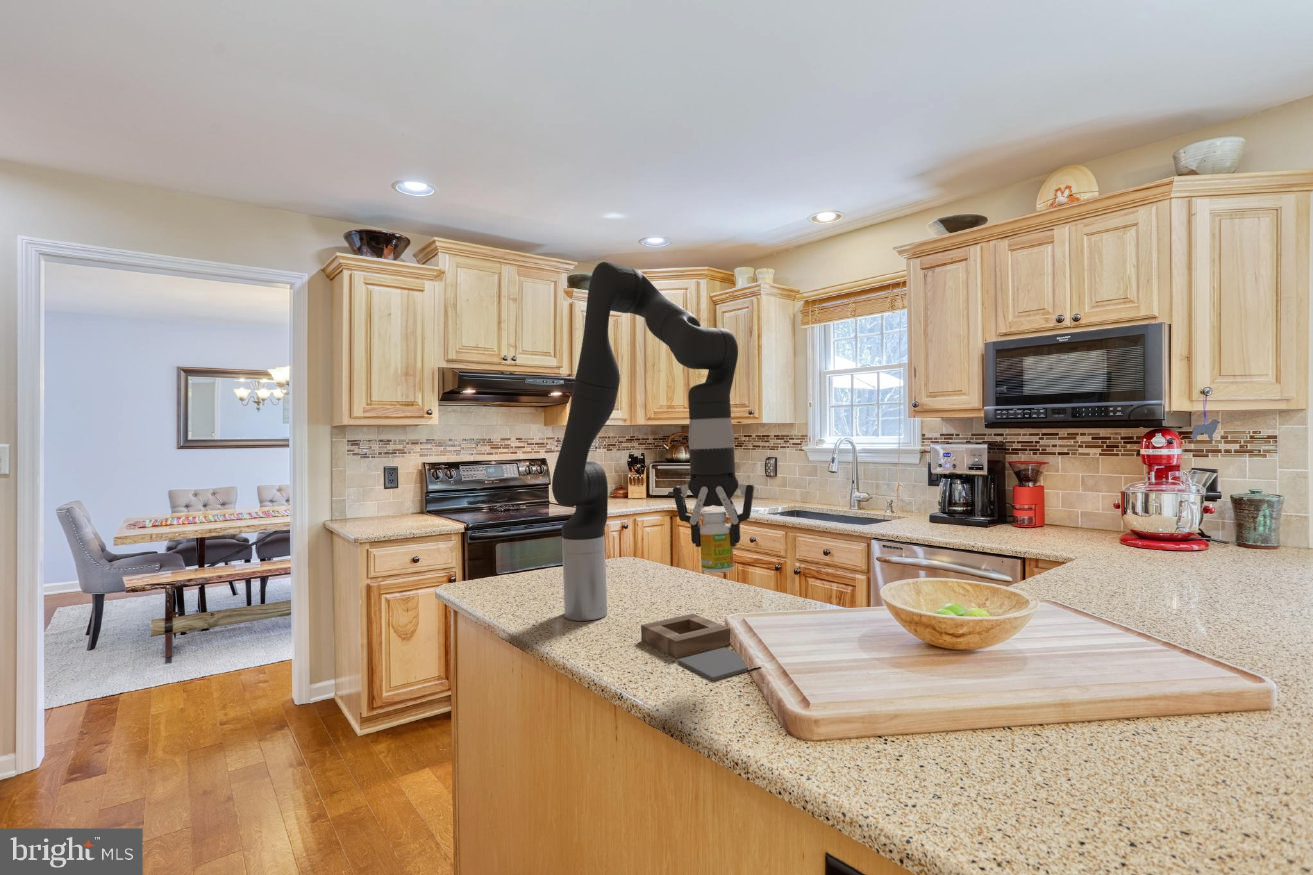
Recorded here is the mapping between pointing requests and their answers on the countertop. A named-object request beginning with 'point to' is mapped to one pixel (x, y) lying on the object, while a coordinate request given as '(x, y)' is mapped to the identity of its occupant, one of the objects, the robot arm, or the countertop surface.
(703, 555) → the supplement bottle
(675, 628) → the frame
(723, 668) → the mat
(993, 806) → the countertop surface
